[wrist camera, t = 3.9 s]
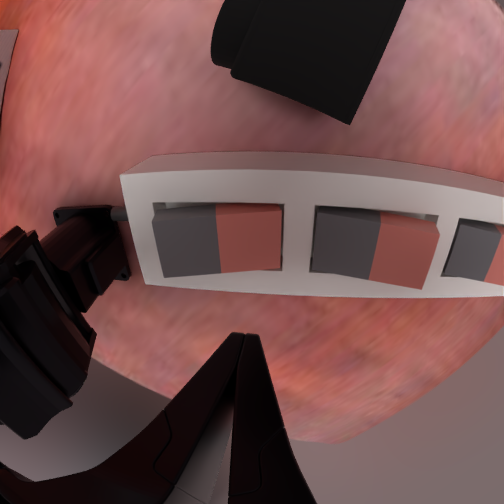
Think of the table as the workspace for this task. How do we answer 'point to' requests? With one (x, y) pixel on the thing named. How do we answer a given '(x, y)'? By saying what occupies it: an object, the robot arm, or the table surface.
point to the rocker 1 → (218, 238)
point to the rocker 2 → (374, 245)
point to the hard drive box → (5, 56)
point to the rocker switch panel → (308, 214)
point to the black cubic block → (306, 48)
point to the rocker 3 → (477, 252)
